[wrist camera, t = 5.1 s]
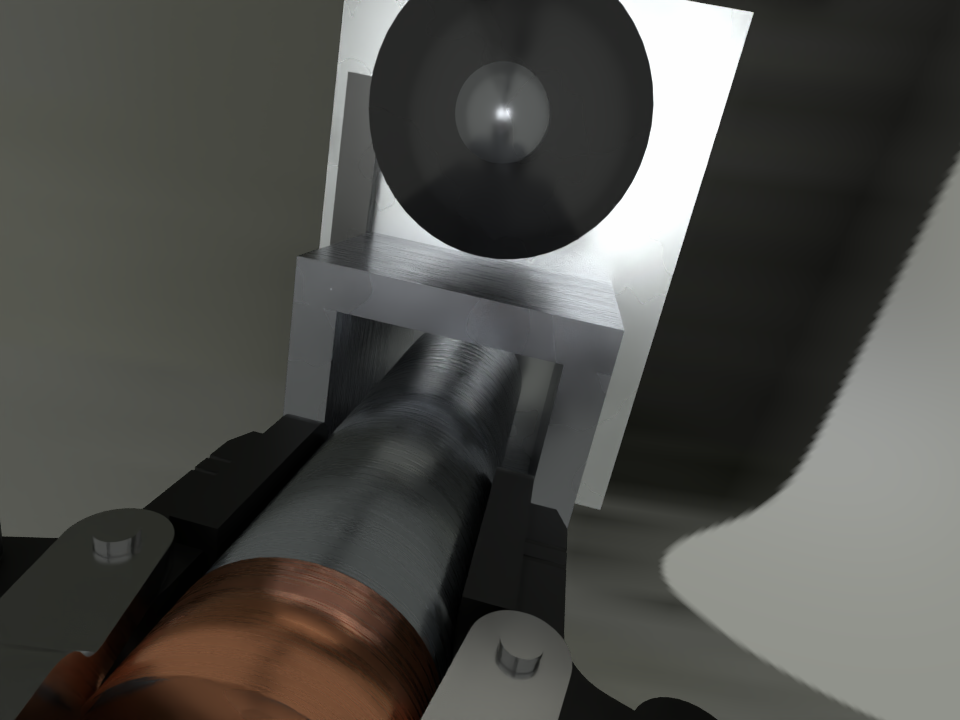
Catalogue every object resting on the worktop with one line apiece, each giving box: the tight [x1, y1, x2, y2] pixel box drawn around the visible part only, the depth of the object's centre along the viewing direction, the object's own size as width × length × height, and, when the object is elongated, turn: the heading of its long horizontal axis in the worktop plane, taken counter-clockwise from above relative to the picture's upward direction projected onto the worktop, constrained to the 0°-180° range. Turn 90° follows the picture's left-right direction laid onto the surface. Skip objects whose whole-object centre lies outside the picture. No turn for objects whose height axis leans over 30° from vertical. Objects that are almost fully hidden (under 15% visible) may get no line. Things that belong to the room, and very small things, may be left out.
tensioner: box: [283, 0, 754, 528], centre depth 15 cm, size 14×10×6 cm
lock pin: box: [81, 332, 522, 720], centre depth 11 cm, size 3×3×12 cm
